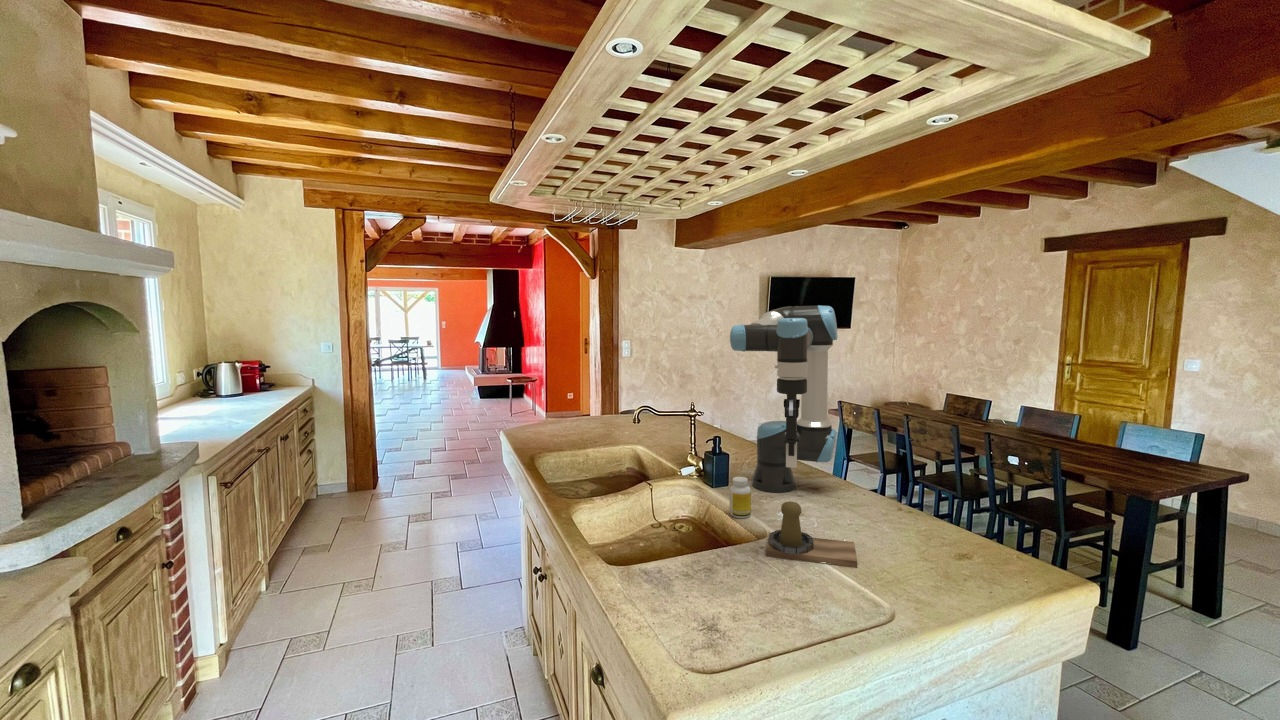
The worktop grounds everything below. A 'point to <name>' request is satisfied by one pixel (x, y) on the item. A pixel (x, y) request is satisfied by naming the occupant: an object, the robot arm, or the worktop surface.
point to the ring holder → (805, 548)
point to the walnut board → (823, 553)
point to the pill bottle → (740, 498)
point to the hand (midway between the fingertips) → (791, 466)
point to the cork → (791, 524)
